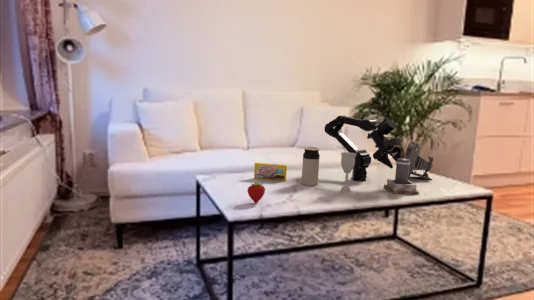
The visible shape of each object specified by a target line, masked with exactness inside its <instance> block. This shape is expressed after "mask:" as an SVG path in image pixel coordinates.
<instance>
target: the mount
mask: <svg viewBox="0 0 534 300" xmlns="http://www.w3.org/2000/svg"><path fill="white" fill-rule="evenodd" d="M383 187H384V188H385V190H387V191H389V193H391V194H392V195H419V194H420V191H418V190H417V184H416V183H414V182H412V180H411V181H410V179H408V184H396V183H395V179H394V178H393V179H392V178H387V179H386V184H385V183H384V184H383Z"/></svg>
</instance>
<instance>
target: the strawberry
mask: <svg viewBox="0 0 534 300" xmlns="http://www.w3.org/2000/svg"><path fill="white" fill-rule="evenodd" d="M256 181H257V182H254V183H251V184H250V185H249V186H248V187H247V194H248V196H249V198H250V199H251V200H252V201H253V202H254V203H255V204H258V203H259V201H261V199H262V198H263V197H264V196H265V192H266V188H265V186H264V185H263V183H261V182H260V183H259V179H256Z"/></svg>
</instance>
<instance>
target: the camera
mask: <svg viewBox="0 0 534 300" xmlns="http://www.w3.org/2000/svg"><path fill="white" fill-rule="evenodd" d="M420 150H421V148H420V145H419V143H418V142H415V141H414V140H413V141H412V140H411V142H410V143H408V145H407V148H406V150H405V153H404V156H403V158H404V159H409V160H410V167H409V176H408V179H410V177H411V175H412V176H416V177H420V178H423V179H426V180H430V181H433V179H432V178H431V177H430V176H429V174H428V172H429V171H431V170H432V169H433V165H434V164H433V162H434V157H432V156H429V155H428V156H427V159H428V161H427V160H426V159H424V158H423V157H421V156H420V155H419V153H420ZM417 171H424V172H423V174H422V173H418V172H417Z"/></svg>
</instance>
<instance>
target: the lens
mask: <svg viewBox="0 0 534 300" xmlns="http://www.w3.org/2000/svg"><path fill="white" fill-rule="evenodd" d="M395 162H396V161H395ZM409 167H410V160H409V159H404V157H402V158H398V159H397V162H396V167H395V174H394V175H395V176H394V178H395V183H396V184H408V180H409V178H408V176H409Z"/></svg>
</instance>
